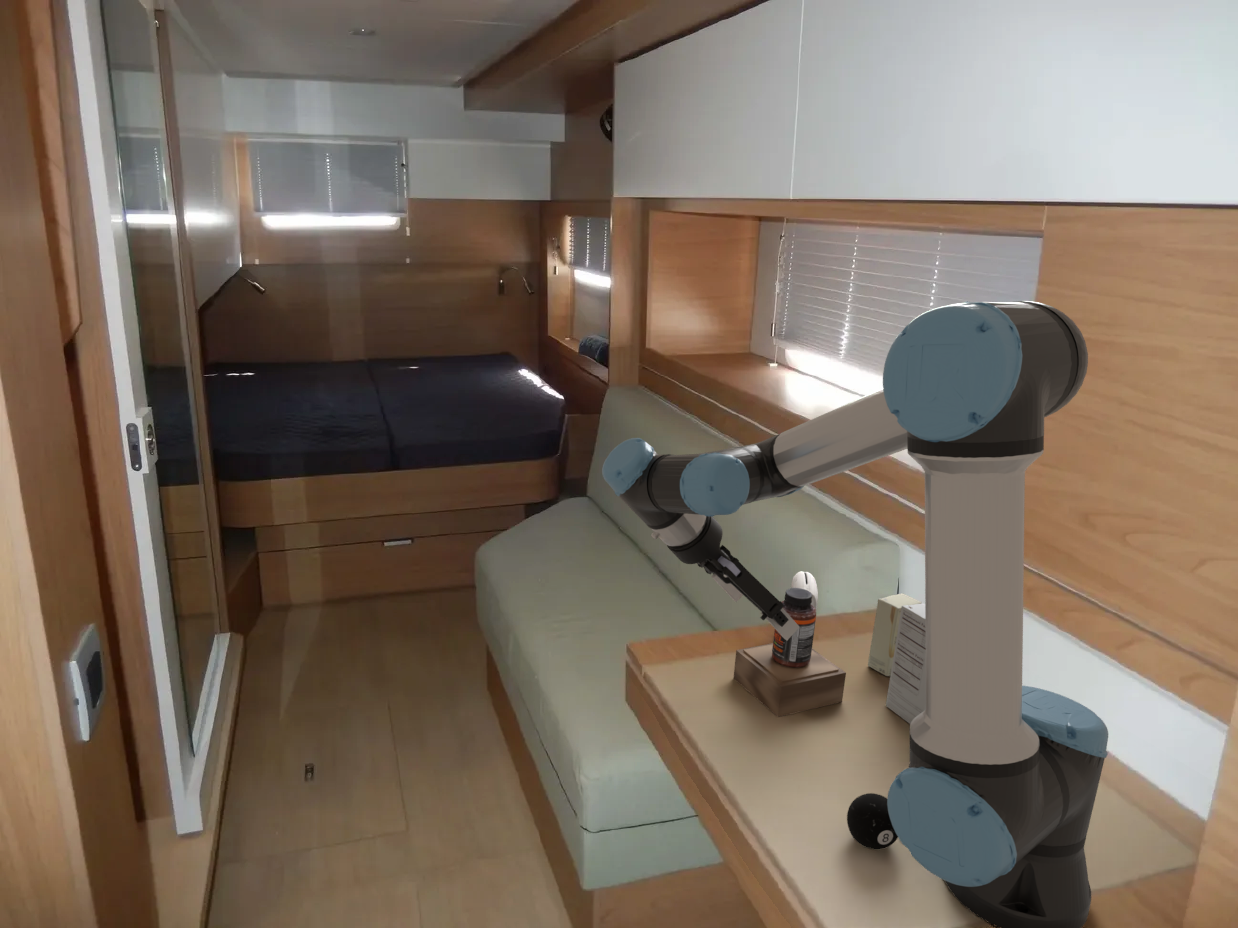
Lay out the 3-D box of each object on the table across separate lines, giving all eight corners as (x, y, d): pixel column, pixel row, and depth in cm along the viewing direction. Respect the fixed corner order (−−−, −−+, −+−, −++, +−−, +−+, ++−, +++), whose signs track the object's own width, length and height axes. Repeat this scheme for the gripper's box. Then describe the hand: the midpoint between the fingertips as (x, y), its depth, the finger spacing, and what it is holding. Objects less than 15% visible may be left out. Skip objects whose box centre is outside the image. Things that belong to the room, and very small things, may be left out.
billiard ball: (858, 862, 102) (865, 817, 101) (836, 827, 108) (842, 785, 106) (906, 857, 103) (913, 813, 102) (881, 823, 109) (888, 781, 107)
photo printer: (812, 657, 150) (821, 589, 147) (786, 654, 151) (794, 586, 148) (809, 630, 160) (817, 566, 157) (785, 627, 161) (792, 564, 157)
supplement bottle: (764, 652, 139) (771, 585, 136) (798, 649, 141) (806, 583, 138) (782, 671, 134) (790, 601, 131) (817, 667, 136) (826, 598, 133)
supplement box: (926, 738, 128) (944, 631, 124) (883, 706, 136) (898, 604, 132) (976, 726, 132) (995, 622, 127) (931, 695, 140) (948, 596, 136)
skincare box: (886, 677, 145) (897, 608, 142) (866, 666, 148) (876, 598, 145) (912, 668, 148) (923, 601, 145) (892, 657, 152) (902, 591, 148)
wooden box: (842, 701, 137) (846, 670, 135) (777, 716, 131) (781, 684, 130) (794, 665, 147) (798, 636, 146) (733, 678, 142) (736, 648, 140)
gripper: (628, 518, 134) (706, 598, 144) (713, 581, 112) (797, 670, 122) (662, 482, 134) (737, 564, 145) (753, 538, 113) (833, 630, 123)
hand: (765, 613), depth 133 cm, fingers open, 13 cm apart
